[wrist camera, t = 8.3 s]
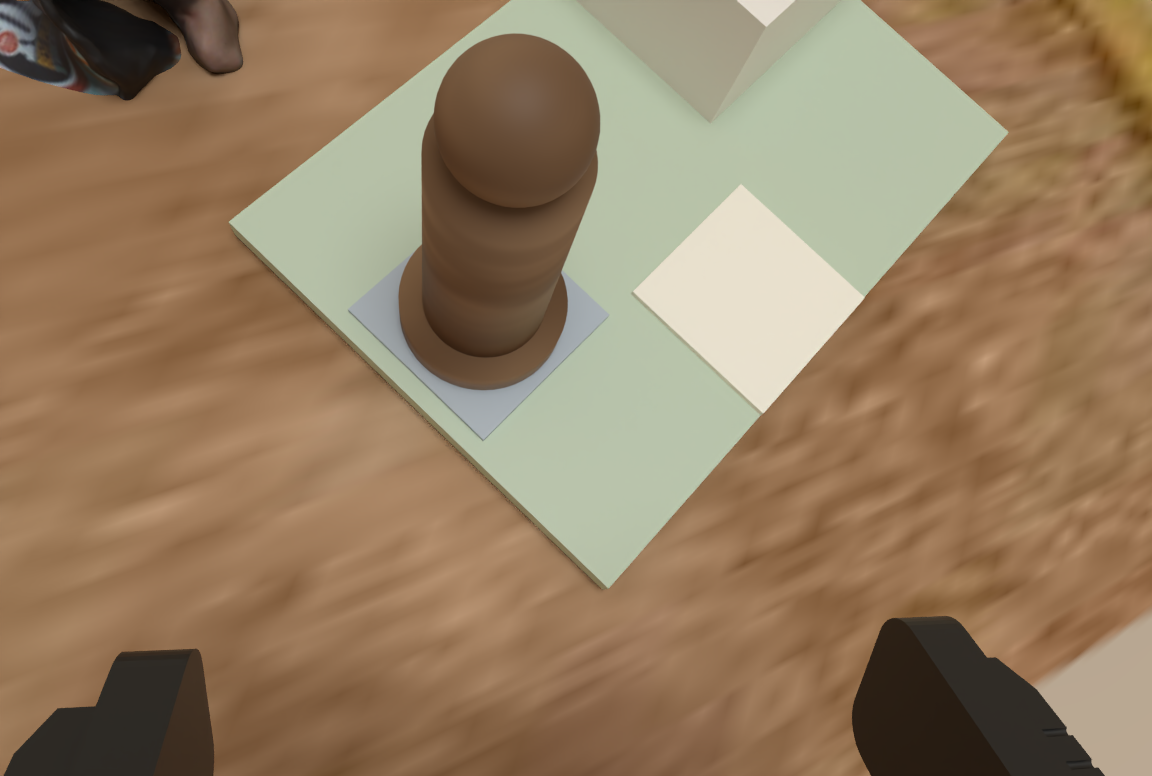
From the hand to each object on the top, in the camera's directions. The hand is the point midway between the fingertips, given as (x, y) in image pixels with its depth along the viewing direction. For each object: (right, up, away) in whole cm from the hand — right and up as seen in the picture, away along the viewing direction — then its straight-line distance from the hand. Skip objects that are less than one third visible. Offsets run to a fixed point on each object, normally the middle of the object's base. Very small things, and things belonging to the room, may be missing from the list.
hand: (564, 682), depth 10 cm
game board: (+3, +10, +16) cm, 19 cm away
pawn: (-2, +6, +13) cm, 15 cm away
